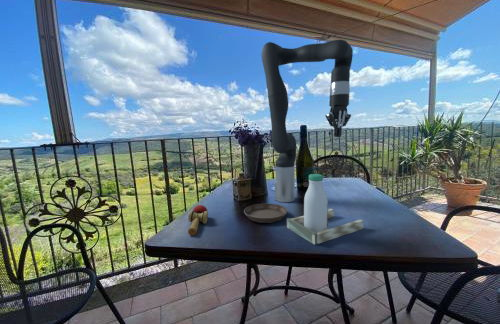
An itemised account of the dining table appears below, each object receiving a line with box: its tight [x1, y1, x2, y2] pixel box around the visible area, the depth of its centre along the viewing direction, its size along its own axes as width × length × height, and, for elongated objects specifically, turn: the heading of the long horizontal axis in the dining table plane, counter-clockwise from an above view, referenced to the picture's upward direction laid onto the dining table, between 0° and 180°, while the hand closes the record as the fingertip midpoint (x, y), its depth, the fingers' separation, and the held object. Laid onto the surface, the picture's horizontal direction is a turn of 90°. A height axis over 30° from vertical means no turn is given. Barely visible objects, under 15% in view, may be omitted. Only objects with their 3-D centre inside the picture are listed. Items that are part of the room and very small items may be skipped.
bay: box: [286, 208, 364, 246], centre depth 80 cm, size 22×14×4 cm, turn 117°
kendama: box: [187, 204, 209, 236], centre depth 87 cm, size 8×6×18 cm
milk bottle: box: [303, 173, 329, 233], centre depth 76 cm, size 8×8×20 cm
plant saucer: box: [243, 203, 288, 224], centre depth 94 cm, size 18×18×3 cm
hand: (337, 136), depth 95 cm, fingers closed
